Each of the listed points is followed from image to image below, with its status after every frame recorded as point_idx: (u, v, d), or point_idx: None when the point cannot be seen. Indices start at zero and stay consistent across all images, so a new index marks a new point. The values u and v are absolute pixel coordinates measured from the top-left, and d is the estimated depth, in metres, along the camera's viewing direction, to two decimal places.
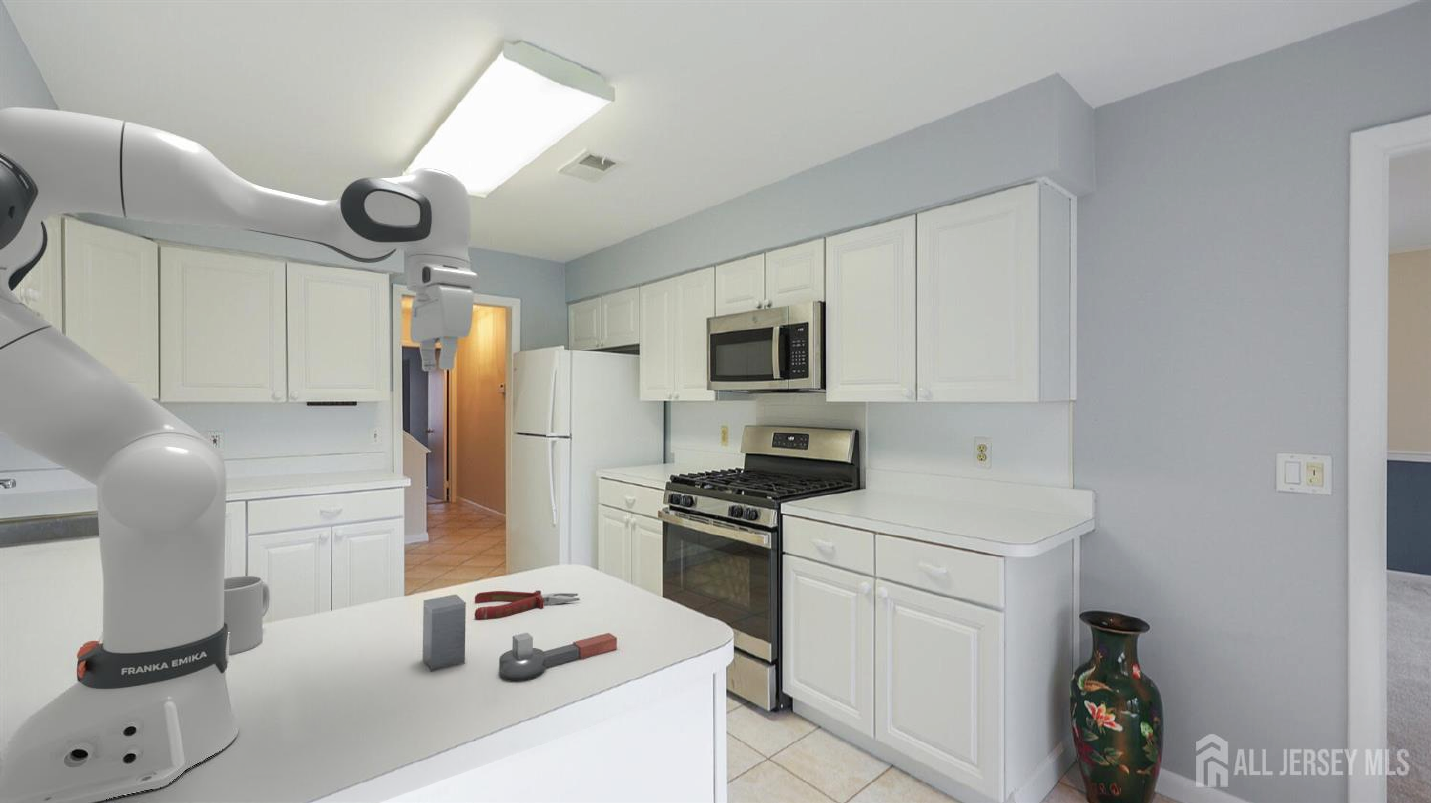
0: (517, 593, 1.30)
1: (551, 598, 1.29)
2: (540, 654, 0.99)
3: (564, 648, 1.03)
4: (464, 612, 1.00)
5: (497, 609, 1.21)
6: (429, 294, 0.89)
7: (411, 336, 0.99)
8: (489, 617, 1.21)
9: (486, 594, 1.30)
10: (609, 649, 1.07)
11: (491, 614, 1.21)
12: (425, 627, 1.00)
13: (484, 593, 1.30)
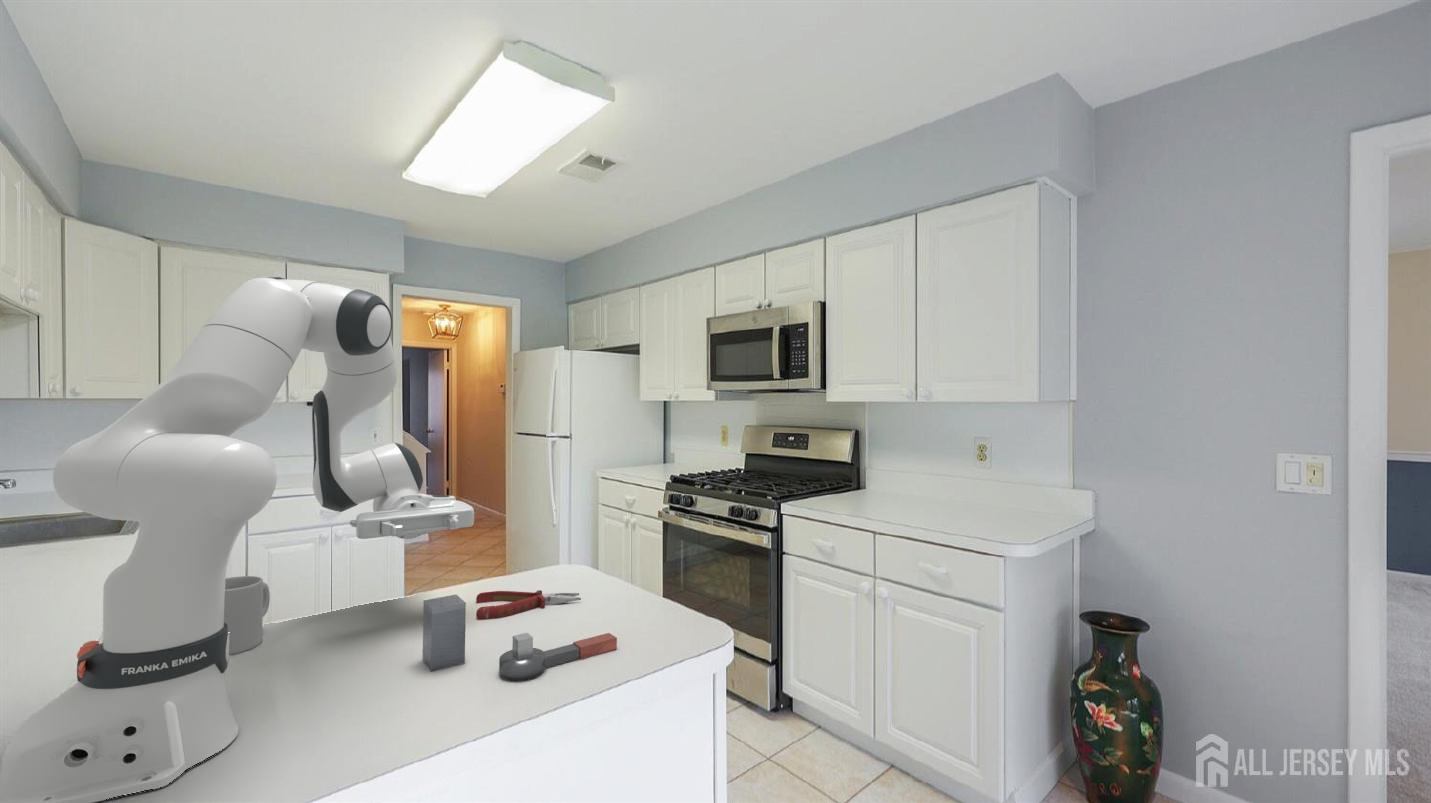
0: (518, 593, 1.31)
1: (552, 598, 1.29)
2: (540, 654, 0.99)
3: (564, 648, 1.03)
4: (464, 612, 1.00)
5: (499, 609, 1.21)
6: (436, 502, 1.22)
7: (367, 518, 1.09)
8: (491, 616, 1.21)
9: (487, 594, 1.30)
10: (609, 649, 1.07)
11: (493, 613, 1.21)
12: (425, 627, 1.00)
13: (485, 593, 1.30)
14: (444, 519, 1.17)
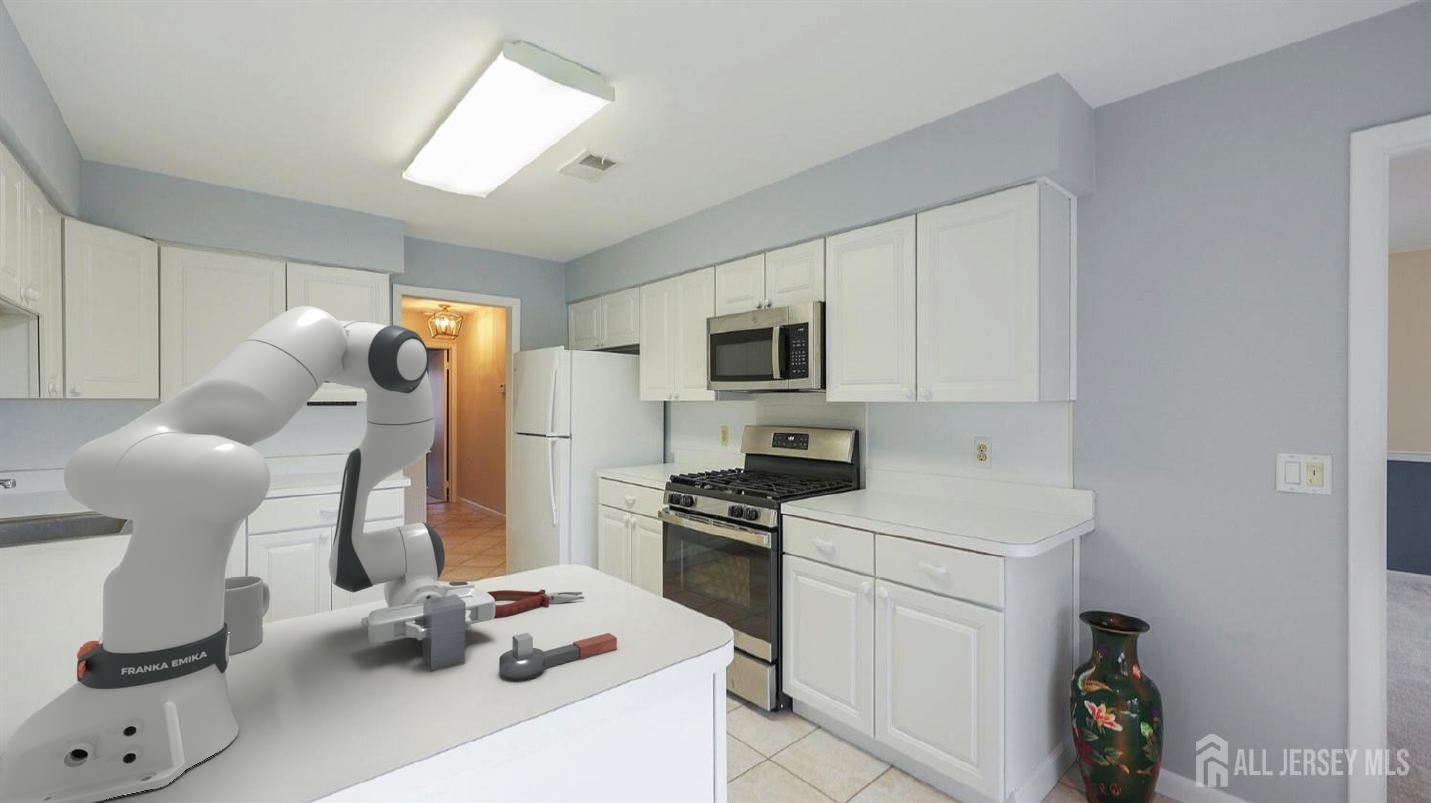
0: (522, 592, 1.31)
1: (556, 597, 1.30)
2: (540, 654, 0.99)
3: (564, 648, 1.03)
4: (464, 612, 1.00)
5: (503, 608, 1.22)
6: (454, 592, 1.12)
7: (380, 620, 0.99)
8: (495, 616, 1.21)
9: (491, 593, 1.31)
10: (609, 649, 1.07)
11: (498, 613, 1.21)
12: None
13: (489, 592, 1.30)
14: None
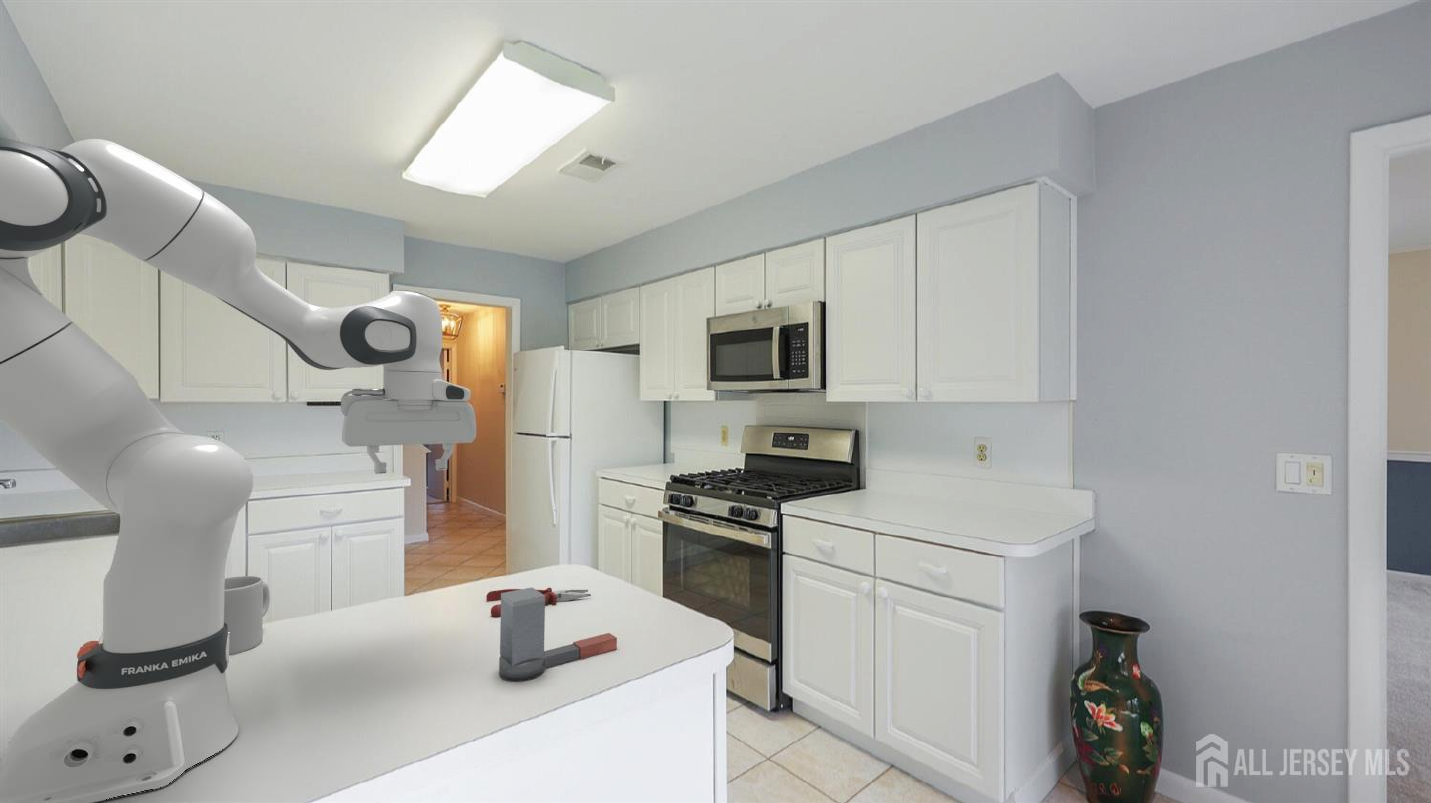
0: None
1: (563, 594, 1.31)
2: None
3: (564, 648, 1.03)
4: (543, 605, 0.98)
5: None
6: (444, 407, 1.04)
7: (355, 440, 0.96)
8: None
9: (497, 592, 1.31)
10: (609, 649, 1.07)
11: None
12: (503, 621, 0.97)
13: (495, 591, 1.31)
14: None
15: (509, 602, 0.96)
